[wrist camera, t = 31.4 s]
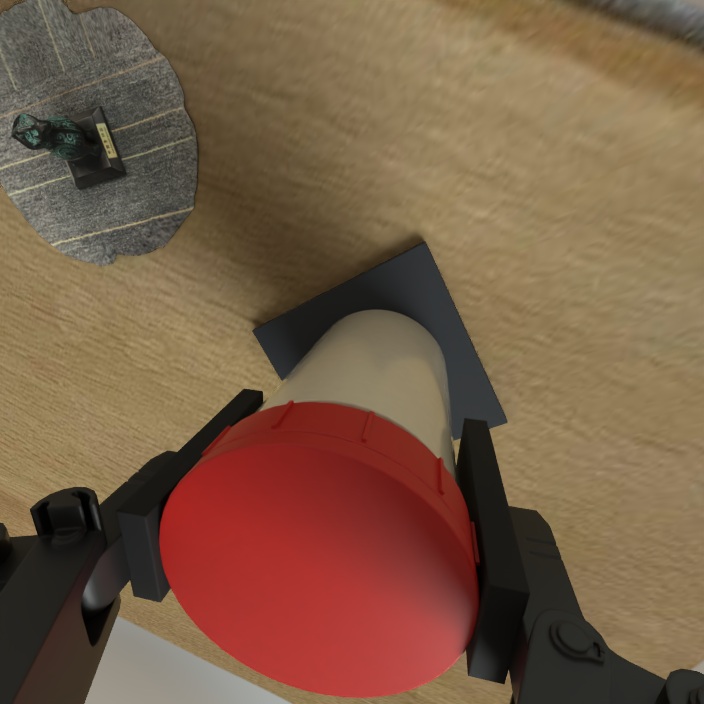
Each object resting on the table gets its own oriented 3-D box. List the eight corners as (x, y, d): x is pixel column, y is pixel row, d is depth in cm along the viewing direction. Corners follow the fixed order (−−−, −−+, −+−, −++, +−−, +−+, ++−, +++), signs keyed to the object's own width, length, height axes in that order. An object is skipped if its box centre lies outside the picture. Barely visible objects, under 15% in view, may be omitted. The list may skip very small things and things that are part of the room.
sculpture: (246, 141, 18) (102, 233, 15) (219, 233, 26) (121, 308, 23) (33, -86, 16) (-196, -43, 13) (73, 89, 24) (-60, 146, 21)
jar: (469, 407, 20) (511, 631, 9) (350, 449, 22) (276, 669, 12) (410, 285, 18) (381, 384, 8) (289, 343, 21) (138, 482, 10)
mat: (506, 418, 20) (508, 423, 20) (341, 473, 23) (339, 478, 23) (425, 240, 18) (425, 241, 18) (255, 328, 21) (251, 330, 21)
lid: (211, 595, 12) (175, 657, 11) (189, 382, 10) (137, 419, 8) (450, 649, 11) (453, 729, 10) (495, 423, 9) (511, 476, 7)
